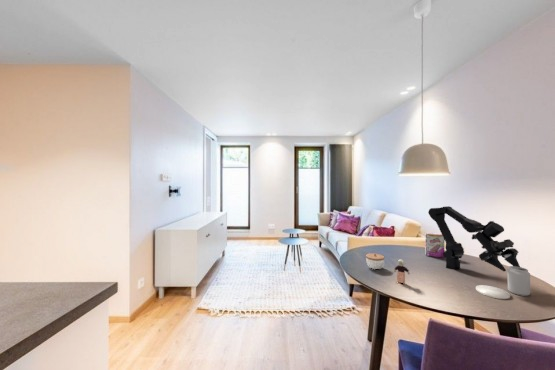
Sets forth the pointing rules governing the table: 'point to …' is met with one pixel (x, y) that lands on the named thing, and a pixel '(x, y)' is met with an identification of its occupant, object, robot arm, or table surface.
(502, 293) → the saucer
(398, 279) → the grandmother figurine
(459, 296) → the table surface
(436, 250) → the candy bar box
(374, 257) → the lidded jar
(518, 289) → the can
